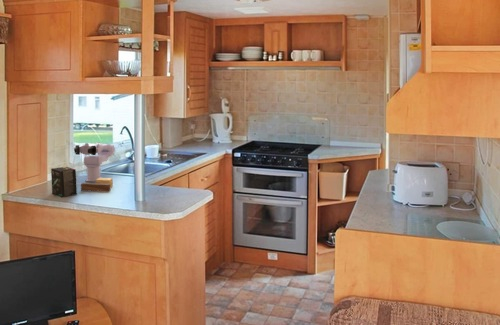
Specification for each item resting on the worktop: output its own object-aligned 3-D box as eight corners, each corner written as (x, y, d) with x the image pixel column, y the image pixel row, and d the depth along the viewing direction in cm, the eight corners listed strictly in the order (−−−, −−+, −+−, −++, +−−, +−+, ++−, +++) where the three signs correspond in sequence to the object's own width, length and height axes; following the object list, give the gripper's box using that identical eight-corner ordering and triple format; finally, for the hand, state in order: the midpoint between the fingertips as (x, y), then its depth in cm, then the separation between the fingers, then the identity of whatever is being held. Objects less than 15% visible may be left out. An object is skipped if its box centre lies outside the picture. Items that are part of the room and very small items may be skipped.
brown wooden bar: (82, 189, 291) (82, 182, 290) (110, 190, 291) (110, 183, 290) (81, 190, 288) (80, 184, 287) (108, 191, 288) (108, 184, 287)
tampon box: (77, 194, 279) (76, 169, 276) (61, 197, 272) (60, 171, 270) (67, 191, 286) (66, 166, 284) (51, 194, 279) (50, 168, 277)
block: (99, 185, 302) (99, 177, 301) (112, 186, 302) (112, 178, 301) (96, 188, 296) (95, 179, 295) (109, 188, 296) (109, 180, 295)
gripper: (77, 142, 306) (69, 143, 293) (101, 143, 306) (94, 144, 292) (77, 154, 307) (69, 155, 293) (101, 154, 307) (94, 156, 293)
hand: (81, 150), depth 293 cm, fingers open, 7 cm apart
